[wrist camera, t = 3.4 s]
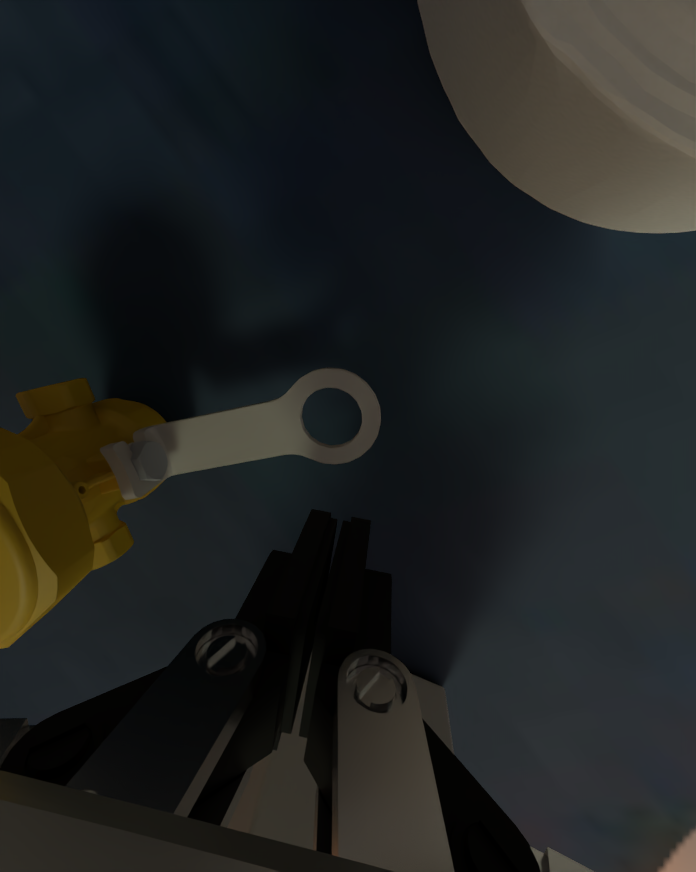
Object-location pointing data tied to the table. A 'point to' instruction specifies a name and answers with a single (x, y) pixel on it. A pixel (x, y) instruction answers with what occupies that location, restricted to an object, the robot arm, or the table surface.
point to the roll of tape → (578, 101)
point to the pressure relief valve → (126, 475)
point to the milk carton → (308, 777)
